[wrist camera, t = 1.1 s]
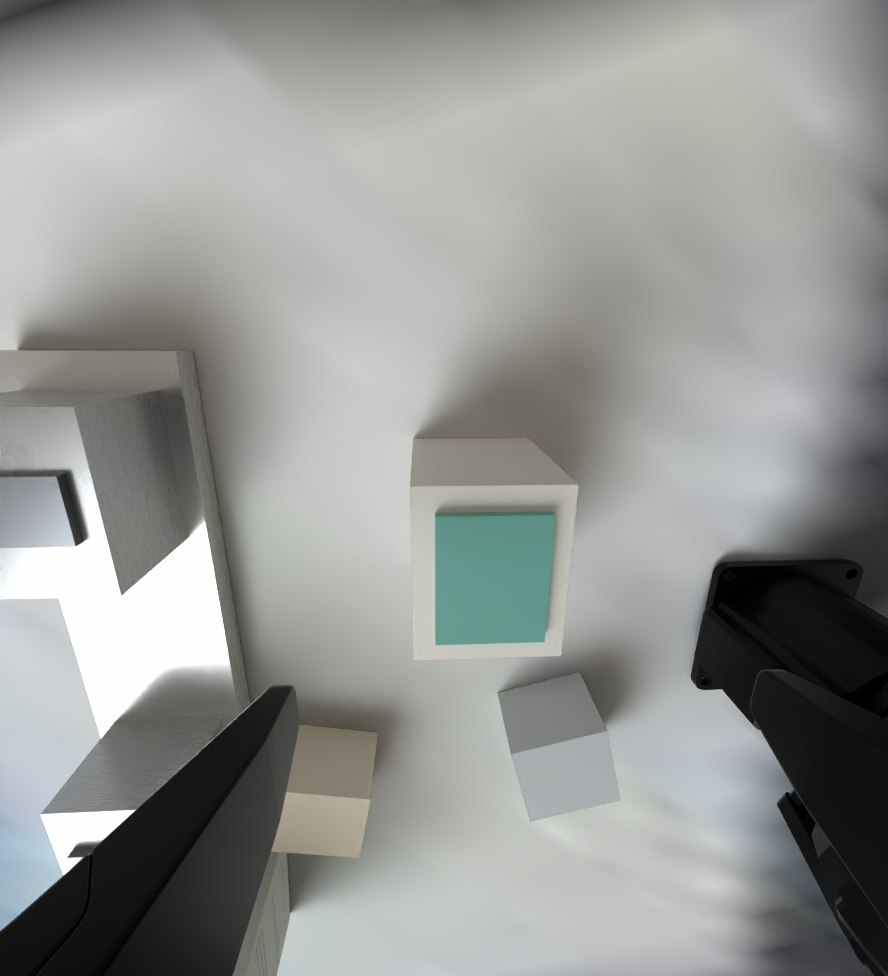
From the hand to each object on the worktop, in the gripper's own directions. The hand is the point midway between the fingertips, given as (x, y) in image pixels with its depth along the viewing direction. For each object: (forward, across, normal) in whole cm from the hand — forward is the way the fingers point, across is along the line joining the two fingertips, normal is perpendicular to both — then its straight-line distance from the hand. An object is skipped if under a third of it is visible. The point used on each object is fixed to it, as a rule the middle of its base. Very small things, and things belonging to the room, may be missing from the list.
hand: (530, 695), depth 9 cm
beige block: (+10, +7, +13) cm, 18 cm away
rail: (+10, +13, +5) cm, 17 cm away
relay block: (+10, -4, +11) cm, 16 cm away
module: (+10, 0, 0) cm, 10 cm away
